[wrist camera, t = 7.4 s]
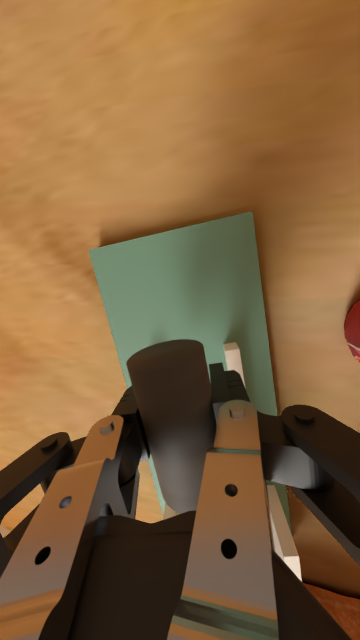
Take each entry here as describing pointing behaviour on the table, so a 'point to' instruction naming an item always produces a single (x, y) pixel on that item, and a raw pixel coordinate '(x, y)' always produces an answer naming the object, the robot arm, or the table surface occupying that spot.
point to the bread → (340, 609)
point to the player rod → (175, 415)
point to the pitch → (198, 317)
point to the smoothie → (353, 330)
